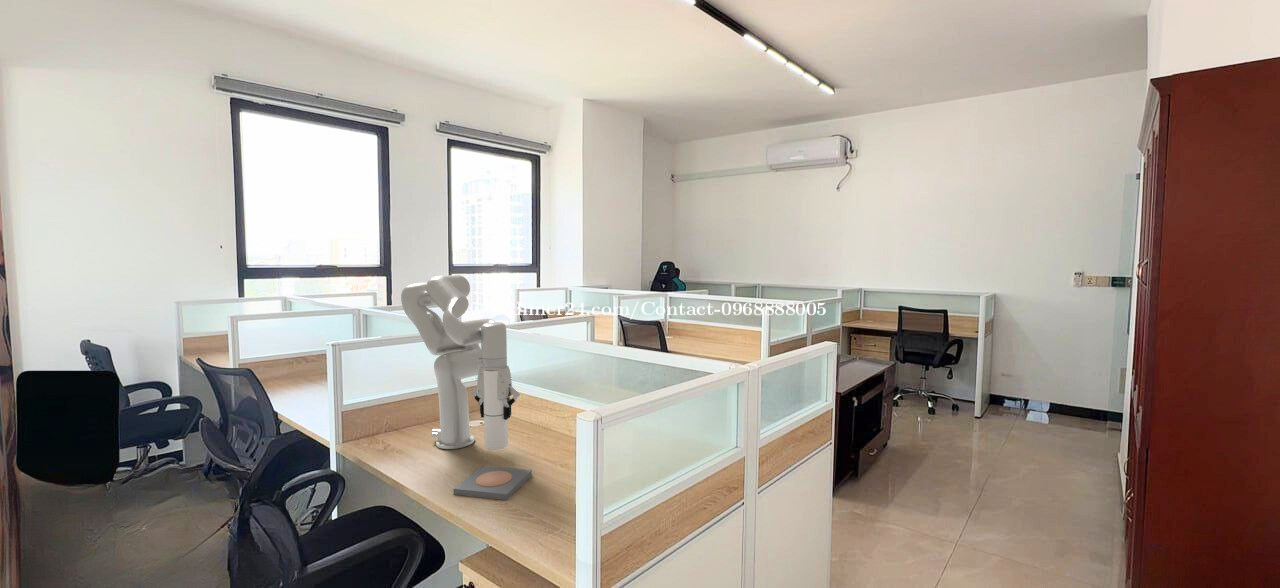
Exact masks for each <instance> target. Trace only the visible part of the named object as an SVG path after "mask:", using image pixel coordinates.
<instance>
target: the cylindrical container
mask: <svg viewBox="0 0 1280 588" xmlns="http://www.w3.org/2000/svg"><path fill="white" fill-rule="evenodd" d="M483 371H484V417H483V426H484V427H483V428H484V429H483V430H484V434H483V435H484V436H483V437H484V448H485V449H486V450H491V451H497V450H499V451H500V450H503V449H505V448H507V447H508V446H509V430H508V429H509V428H508V427H509V426H508V423H509V422H508V419H509V418H508V419H507V420H504V407H505V405H504V403H503V400H498V399H497V376H498V371H491V370H483Z"/></svg>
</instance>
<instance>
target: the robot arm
mask: <svg viewBox="0 0 1280 588" xmlns="http://www.w3.org/2000/svg"><path fill="white" fill-rule="evenodd" d="M470 292H471V286H470V282H469V280H468V279H467V278H466V277H465V276H463V275H460V274H451V275H438V276H434V277H432V278H430V279H429V280H428V281H427V282H418V283H413V284H409V285H407V286H405V287H404V288H403V289H402V291H401V293H400V301H401V305H402V308H403V311H404V313H405V314H406V316H407V317H408V319H409V320H410V321H411V323H413V325H414V326H415V327H416V329H417V331H418V334H419V335H420V337H421V339H422V341H423V342H424V345H425V347H426V348H427V350H428V351H429V353H430V354H431V355H433V356H437V358H436V359H435V360H434V364H433V370H434V376H435V378H436V384H437V391H438V392H437V393H438V394H437V395H438V407H439V408H438V410H439V429H438V428H433V429H432V430H431V434H430V435H431V437H434V438H436V437H437V440H436V442H435V445H436V447H437V448H439V449H441V450H442V449H443V450H459V449H462V448H466V447H468V446H471V445H472V444H473V443H474V442H475V439H476V438H475V436H474V435H472V434H471V433H470V432H471V431H470V413H469V411H470V410H469V392H468V389H467V387H466V386H465V384H464V383H463V382H462V381H461V380H462V379H467V378H471V377H474V376H475V377H476V376H477V384H476V386H475V387H474V388H473V389H472V390H471V391H470V394H471V395H472V397H474V399H475V400H476V402H477V404H478V406H479V413H480V414H479V415H480V418H481V419H482V418H483V419H484V371H483V370H491V371H498V376H497V399H498V400H503V403H504V405H505V407H504V420H507V419H510V418H511V416H512V406H513V404H514V403H515V402H516V401H517V399H519V397H520V396H521V394H520V393H519V391H517V390H516V389H515V388H514V387H513V384H512V383H513V381H512V376H511V370H510V366H509V365H508V356H507V353H508V350H507V349H508V348H507V347H508V345H507V344H508V343H507V326H506V324H505V323H503V322H497V321H495V320H493V319H489V318H481V319H472V320H466V321H465V320H464V321H461V320H460V319H459V318H460V317H462V316H464V314H465V313H466V312H467V310H468V308H469V299H468V298H467V297H468V296H469V294H470ZM431 306H438V308H439V309H440V310H442V312H443V315H442V318H441V317H440V316H439V315H438V314H437V313H436V312H435V311H433V310H432V309H430V308H428V307H431ZM479 344H481V347H480V345H479ZM511 396H512V398H511Z"/></svg>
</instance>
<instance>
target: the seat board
mask: <svg viewBox="0 0 1280 588" xmlns="http://www.w3.org/2000/svg"><path fill="white" fill-rule="evenodd" d="M532 471H533V470H532V469H526V468H514V467H513V468H512V467H502V466H491V465H481V466H480V467H479V468H477V470H475V471H474V472H473V473H471V474H470V475H469V476H468V477H466V478H465V479H464V480H463V481H461V482H460V483H458V485H456V486H454V487H453V489H452V490H453V495H456V496H467V497H473V498H474V497H475V498H484V499H495V500H503V501H508V500H509V498H510V497H512V495H514V494H515V492H516V491H518V490H519V489H520V488H519V487H522V486H523V485H524V484H525V483H526V482H527V481H528V480H529V479H530V478H531V477H532V476H533V472H532Z"/></svg>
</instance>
